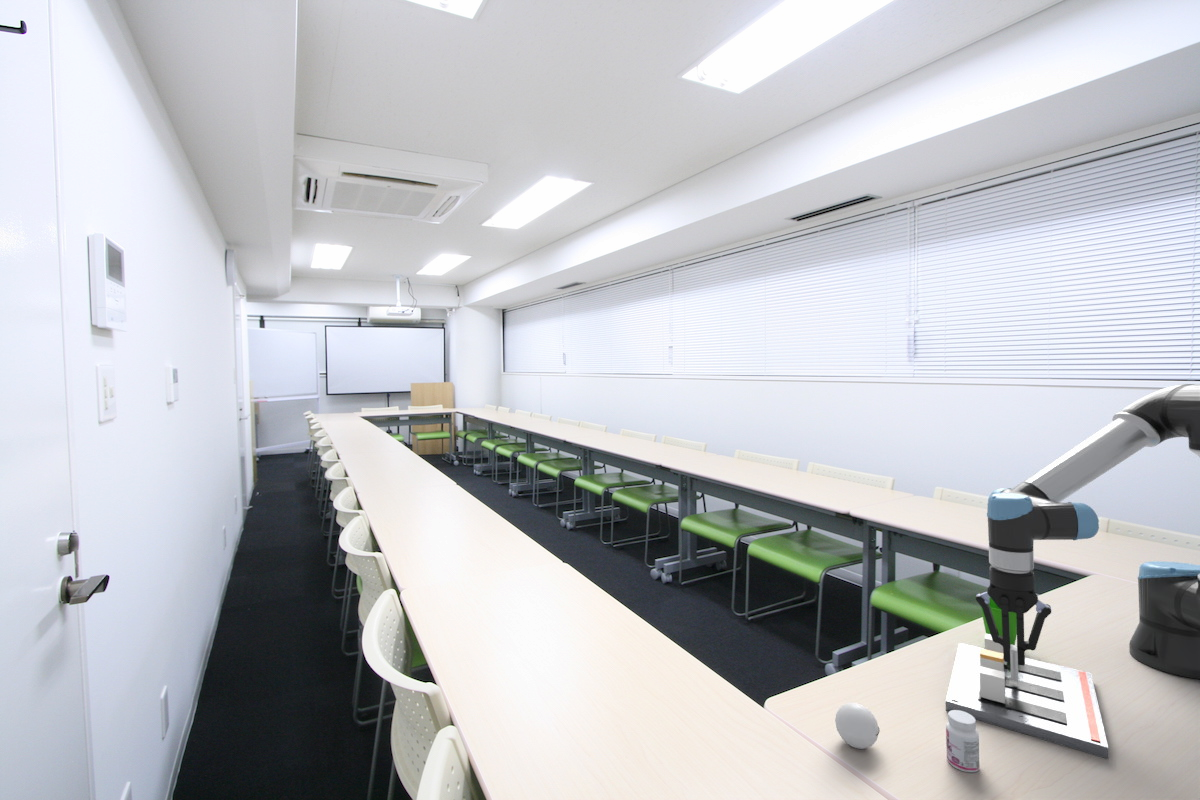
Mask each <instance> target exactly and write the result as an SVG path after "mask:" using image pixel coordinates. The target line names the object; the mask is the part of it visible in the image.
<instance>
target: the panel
mask: <svg viewBox="0 0 1200 800" xmlns="http://www.w3.org/2000/svg"><path fill="white" fill-rule="evenodd" d="M981 648H982V649H985V647H979V646H975V645H972V644H971V645H970V644H966V643H962V642H959V643H958V646H957V650H956V655H955V659H954V663H953V668H952V672H951V677H950V680H949V684H948V685H949V686H948V689H947V693H946V699H945V711H946V710H947V712H949V711H951V710H960V711H964V712H967V713H969V714H970V715H972V716H973V717H974V718H975V720H976V721H980V722H983V723H987V724H991V725H992V726H996V727H1000V728H1004V729H1006V730H1011V731H1014V732H1017V733H1021V734H1024V735H1027V736H1031V737H1033V738H1036V739H1041V740H1044V741H1047V742H1050V743H1054V744H1056V745H1060V746H1064V747H1068V748H1071V749H1075V750H1076V751H1077V750H1078V751H1081V752H1085V753H1087V754H1090V755H1094V756H1098V757H1101V758H1105V759H1109V744H1108V741H1107V737H1106V732H1105V727H1104V723H1103V719H1102V714H1101V710H1100V706H1099V703H1098V698H1097V693H1096V690H1095V689H1096V688H1095V685H1094V682H1093V681H1094V680H1093V676H1092V672H1091V671H1085V670H1081V669H1077V668H1076V669H1075V668H1072V667H1067V666H1063V665H1059V664H1055V663H1049V662H1045V661H1041V660H1036V659H1033V658H1028V657H1025V664H1024V666H1023V665H1018V682H1017V681H1013V680H1011V664H1010V663H1009V662H1007V665H1005V664H1004V672H1005V703H1001V702H997V701H994V700H990V699H986V698H983V697H980V651H981Z"/></svg>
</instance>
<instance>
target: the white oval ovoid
mask: <svg viewBox="0 0 1200 800" xmlns="http://www.w3.org/2000/svg"><path fill="white" fill-rule="evenodd" d="M834 718H835V719H834V720H835V728H836V731H837V732H838V734H839V737H840V738H841V739H842V740H843V741H844V742H845V743H846V744H848V746H851V747H852V748H855V749H863V750H864V749H868V748H870V747H872V746H873V745H874V744H875V743H876V742H877V740H878V738H879V734H880V732H881V731H880V728H879V724H878V721H877V719H876V717H875V715H874V713H872V711H871V710H869V708H867V707H866V706H865V705H863V704H860V703H857V702H847V703H845V704H843V705H841V706H840V707H839V708H838V709H837V711H836V713H835V717H834Z"/></svg>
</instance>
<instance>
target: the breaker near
mask: <svg viewBox="0 0 1200 800" xmlns="http://www.w3.org/2000/svg"><path fill="white" fill-rule="evenodd" d="M980 697H983V698H986V699H990V700H994V701H997V702H1001V703H1005V672H1002V671H998V670H994V669H990V668H986V667H982V666H981V667H980Z"/></svg>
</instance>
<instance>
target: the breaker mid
mask: <svg viewBox="0 0 1200 800" xmlns="http://www.w3.org/2000/svg"><path fill="white" fill-rule="evenodd" d="M980 648H981V651H980V667H981V666H982V667H986V668H990V669H994V670H998V671H1002V672H1004V656H1003V653H999V652H995V651H990V650H986V649H982V648H983V647H980Z"/></svg>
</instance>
